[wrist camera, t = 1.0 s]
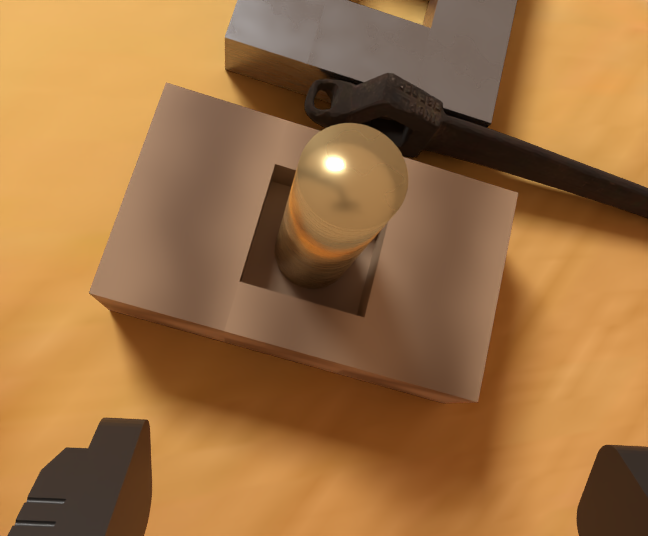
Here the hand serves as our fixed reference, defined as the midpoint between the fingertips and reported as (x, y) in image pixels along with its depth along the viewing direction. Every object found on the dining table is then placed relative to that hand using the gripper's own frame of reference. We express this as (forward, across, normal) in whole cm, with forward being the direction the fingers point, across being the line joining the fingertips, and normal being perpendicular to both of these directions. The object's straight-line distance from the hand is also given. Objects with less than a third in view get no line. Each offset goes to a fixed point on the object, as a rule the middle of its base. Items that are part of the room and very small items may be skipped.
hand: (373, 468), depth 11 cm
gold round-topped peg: (+18, 0, +4) cm, 19 cm away
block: (+30, -3, -6) cm, 31 cm away
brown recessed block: (+20, +1, +6) cm, 21 cm away
